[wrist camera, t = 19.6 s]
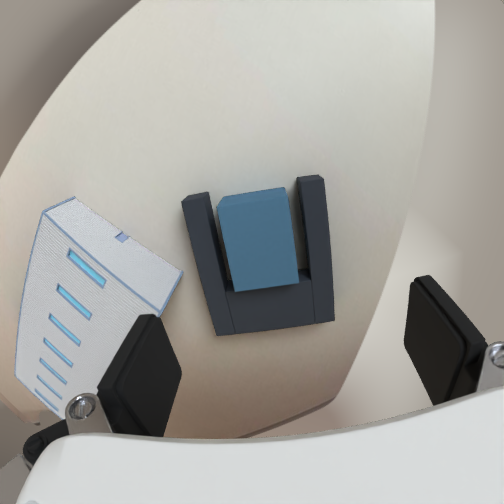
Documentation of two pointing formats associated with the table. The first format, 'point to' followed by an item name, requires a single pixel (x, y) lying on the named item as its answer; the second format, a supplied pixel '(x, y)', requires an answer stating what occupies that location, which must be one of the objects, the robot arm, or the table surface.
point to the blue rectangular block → (259, 239)
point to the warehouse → (82, 301)
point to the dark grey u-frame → (272, 298)
